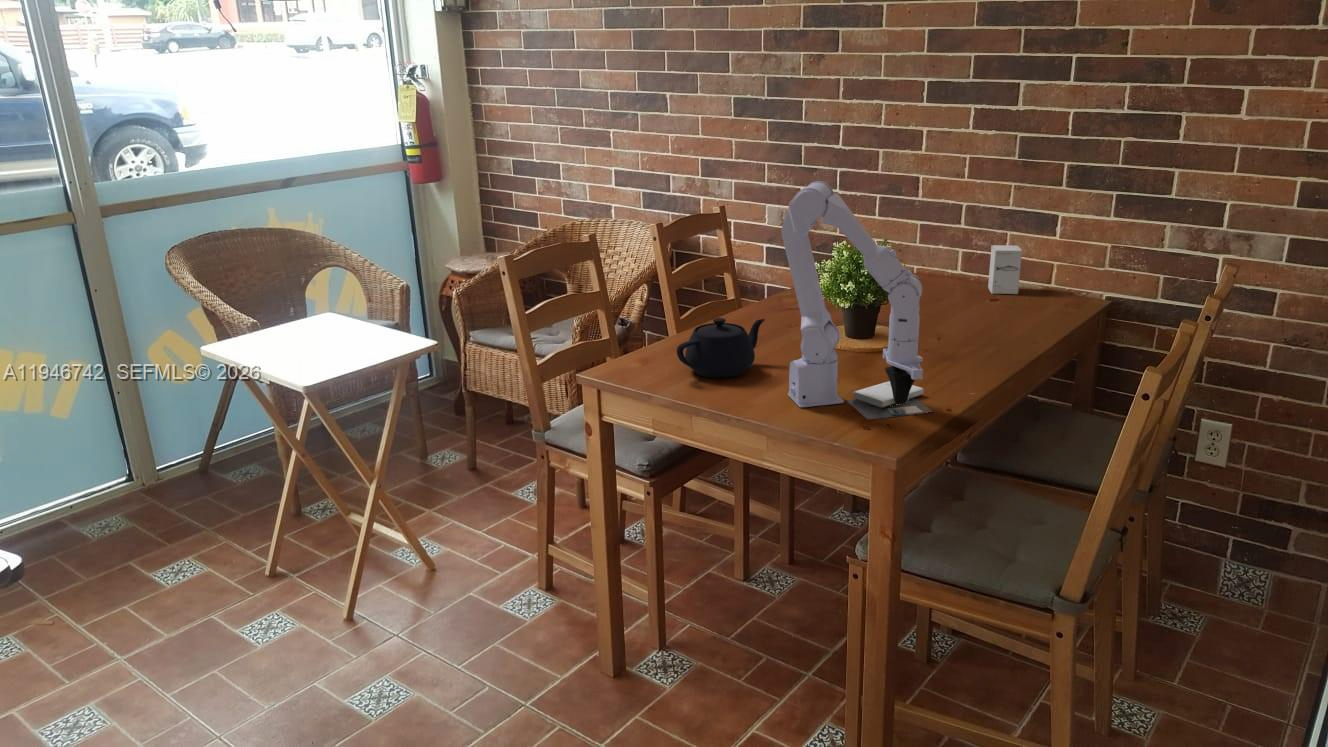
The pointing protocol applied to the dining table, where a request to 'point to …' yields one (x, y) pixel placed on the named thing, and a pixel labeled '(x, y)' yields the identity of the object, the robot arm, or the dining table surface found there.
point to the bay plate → (889, 409)
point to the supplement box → (1004, 269)
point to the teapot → (720, 349)
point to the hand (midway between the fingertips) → (900, 402)
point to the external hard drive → (883, 394)
